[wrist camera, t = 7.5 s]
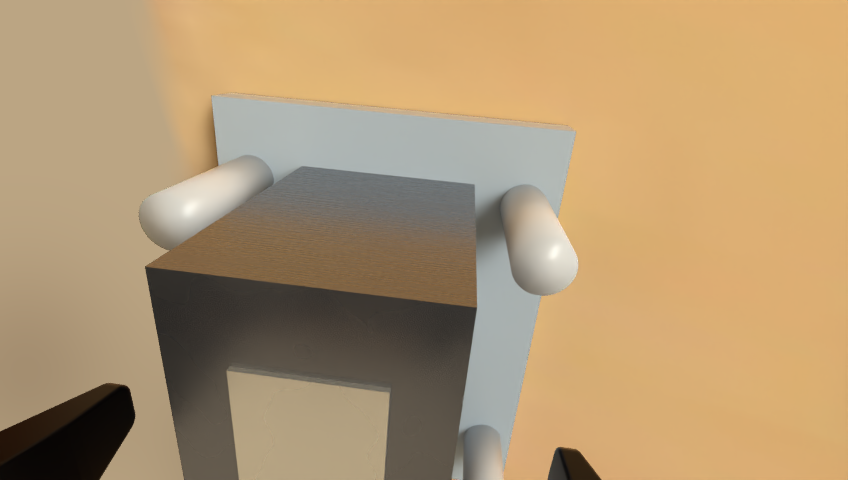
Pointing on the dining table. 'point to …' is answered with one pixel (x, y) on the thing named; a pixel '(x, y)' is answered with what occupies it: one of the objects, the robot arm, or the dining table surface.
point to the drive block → (322, 330)
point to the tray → (426, 159)
